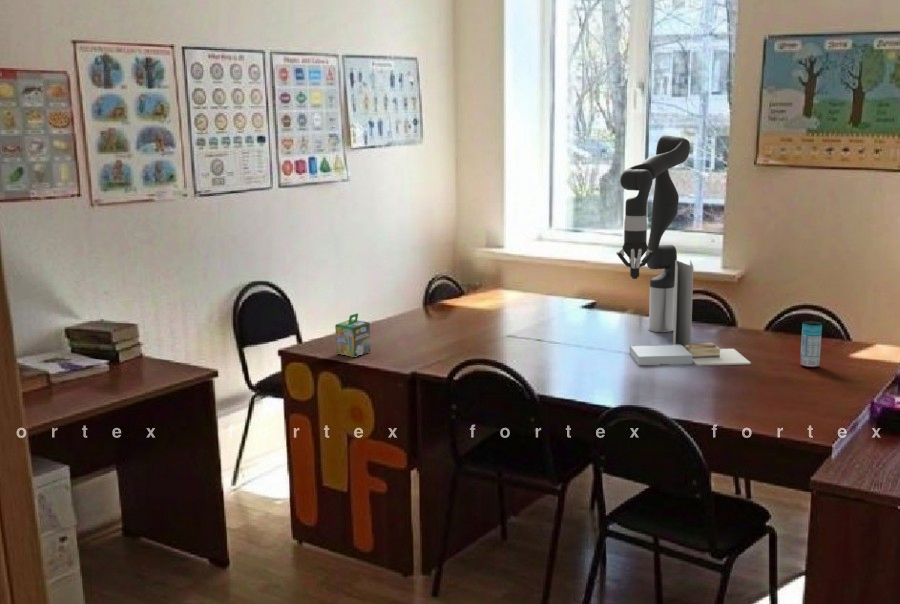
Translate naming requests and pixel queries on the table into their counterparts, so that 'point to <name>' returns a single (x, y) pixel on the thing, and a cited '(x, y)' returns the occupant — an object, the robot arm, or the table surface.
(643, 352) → the large white box
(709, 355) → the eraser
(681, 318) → the grey panel
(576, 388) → the table surface
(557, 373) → the table surface
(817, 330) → the beverage can
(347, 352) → the chalk box
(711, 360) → the mat
